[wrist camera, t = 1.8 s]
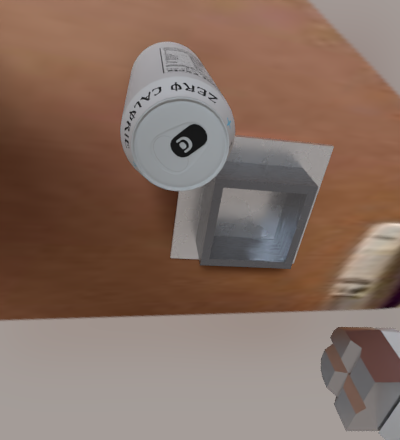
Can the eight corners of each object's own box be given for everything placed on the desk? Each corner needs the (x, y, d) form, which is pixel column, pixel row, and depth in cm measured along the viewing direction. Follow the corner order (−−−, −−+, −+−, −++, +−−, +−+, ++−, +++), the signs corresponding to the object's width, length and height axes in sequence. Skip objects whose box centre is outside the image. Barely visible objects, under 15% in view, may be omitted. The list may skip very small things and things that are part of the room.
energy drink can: (115, 72, 30) (90, 137, 18) (174, 22, 29) (194, 54, 16) (162, 130, 33) (170, 221, 20) (218, 87, 32) (264, 156, 19)
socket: (185, 127, 34) (190, 148, 30) (329, 142, 36) (353, 163, 32) (169, 252, 41) (172, 283, 37) (290, 258, 43) (305, 287, 39)
